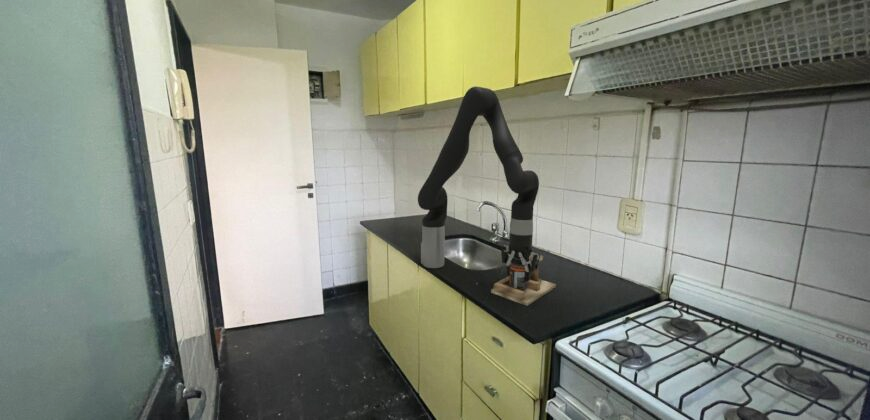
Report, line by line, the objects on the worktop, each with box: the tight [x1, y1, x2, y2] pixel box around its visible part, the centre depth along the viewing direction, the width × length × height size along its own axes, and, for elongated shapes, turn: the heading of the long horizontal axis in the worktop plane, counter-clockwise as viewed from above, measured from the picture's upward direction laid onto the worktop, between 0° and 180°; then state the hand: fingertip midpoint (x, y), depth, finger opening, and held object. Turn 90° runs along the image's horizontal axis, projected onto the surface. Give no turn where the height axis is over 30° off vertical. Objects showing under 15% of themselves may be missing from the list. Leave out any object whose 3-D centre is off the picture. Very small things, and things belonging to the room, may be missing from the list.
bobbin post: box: [530, 254, 544, 284], centre depth 127 cm, size 6×6×10 cm
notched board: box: [490, 275, 557, 307], centre depth 124 cm, size 14×20×4 cm
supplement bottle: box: [509, 257, 527, 291], centre depth 120 cm, size 6×6×11 cm
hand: (518, 278), depth 121 cm, fingers closed on supplement bottle, 6 cm apart
